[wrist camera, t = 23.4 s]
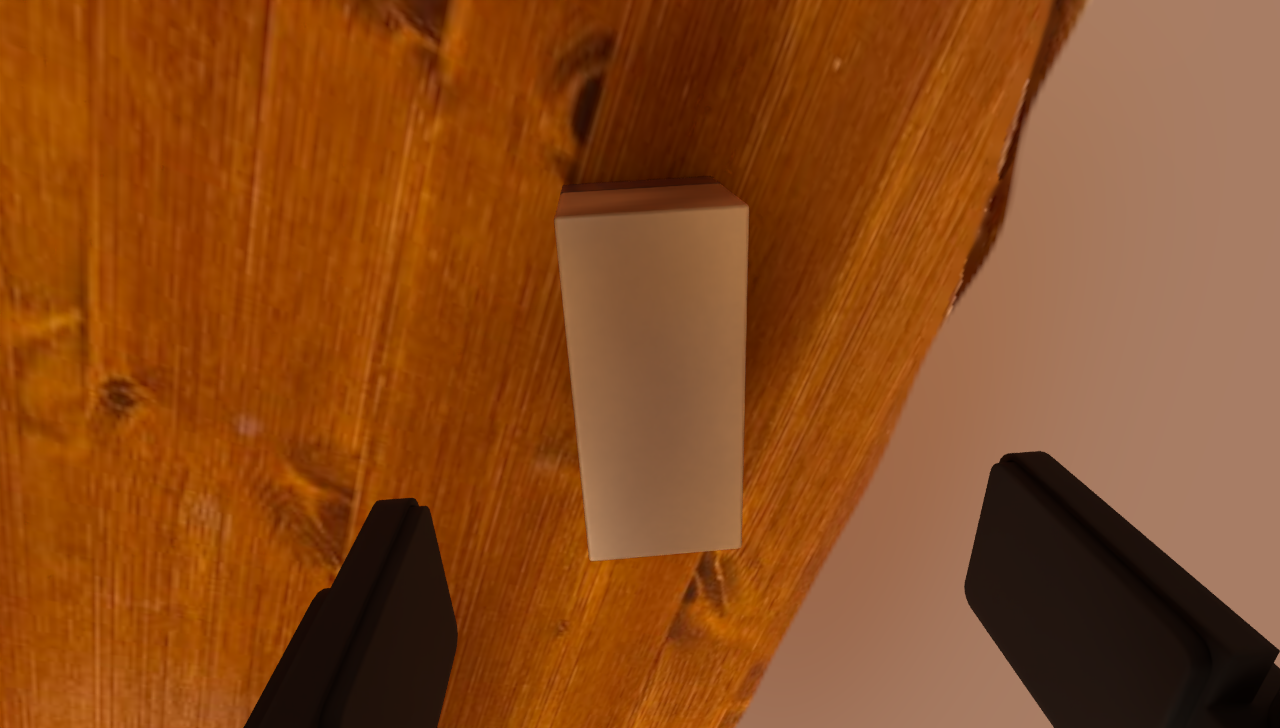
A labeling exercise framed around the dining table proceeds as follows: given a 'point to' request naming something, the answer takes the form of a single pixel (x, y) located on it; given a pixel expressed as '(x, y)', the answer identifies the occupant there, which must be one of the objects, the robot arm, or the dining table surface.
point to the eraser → (656, 361)
